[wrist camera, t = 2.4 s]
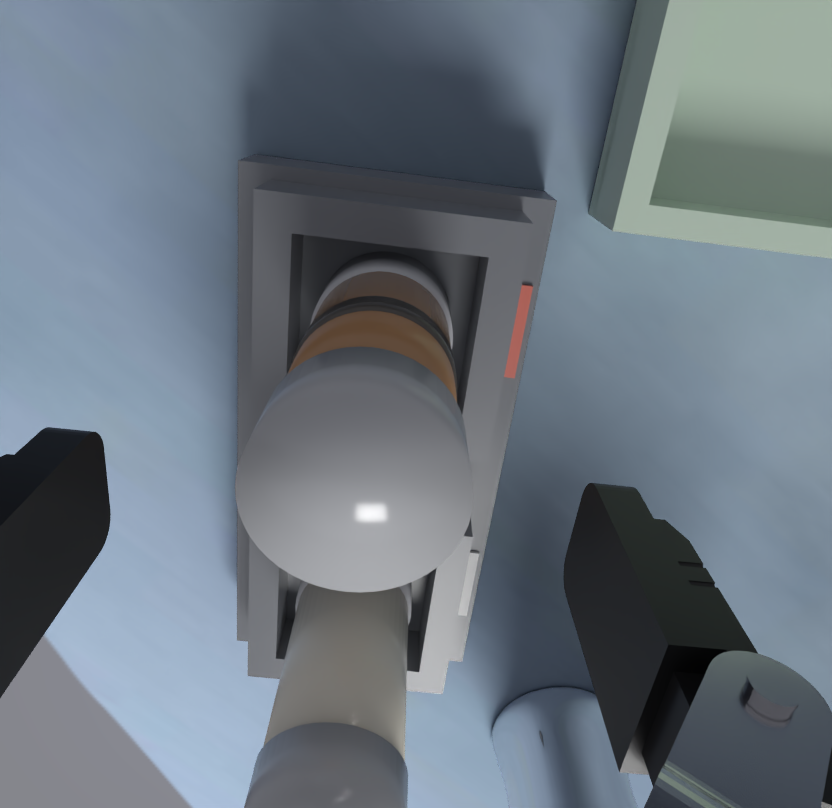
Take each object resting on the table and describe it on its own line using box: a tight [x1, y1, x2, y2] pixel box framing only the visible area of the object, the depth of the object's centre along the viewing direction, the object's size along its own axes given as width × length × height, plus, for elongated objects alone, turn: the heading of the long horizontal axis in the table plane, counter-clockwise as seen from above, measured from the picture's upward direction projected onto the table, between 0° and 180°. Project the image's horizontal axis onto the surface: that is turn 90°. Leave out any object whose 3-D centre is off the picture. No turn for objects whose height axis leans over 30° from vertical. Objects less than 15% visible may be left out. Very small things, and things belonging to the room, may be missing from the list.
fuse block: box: [237, 154, 557, 694], centre depth 22 cm, size 9×18×4 cm, turn 173°
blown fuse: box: [235, 251, 473, 592], centre depth 15 cm, size 4×4×10 cm
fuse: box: [244, 580, 412, 808], centre depth 20 cm, size 4×4×10 cm
